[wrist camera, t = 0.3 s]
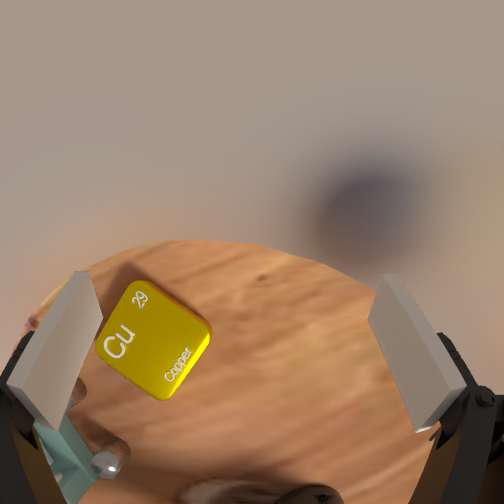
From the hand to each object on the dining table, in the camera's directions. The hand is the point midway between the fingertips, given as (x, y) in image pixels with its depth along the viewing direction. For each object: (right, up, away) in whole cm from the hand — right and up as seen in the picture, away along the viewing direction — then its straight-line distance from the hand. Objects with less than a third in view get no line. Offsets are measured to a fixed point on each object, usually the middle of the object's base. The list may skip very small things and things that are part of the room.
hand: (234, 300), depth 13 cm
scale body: (-38, -38, +30) cm, 62 cm away
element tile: (-15, -12, +34) cm, 39 cm away
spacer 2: (-24, -35, +31) cm, 53 cm away
